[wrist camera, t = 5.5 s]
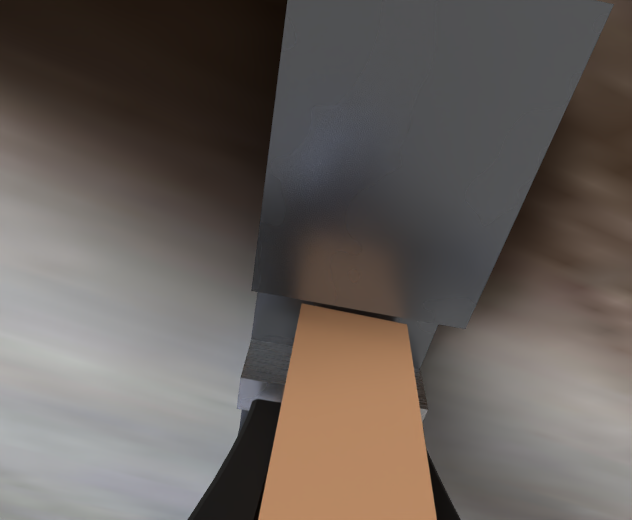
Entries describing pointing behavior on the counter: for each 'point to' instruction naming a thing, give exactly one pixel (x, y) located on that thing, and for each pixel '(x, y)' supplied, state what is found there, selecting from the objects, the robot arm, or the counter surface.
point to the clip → (349, 425)
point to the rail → (403, 160)
